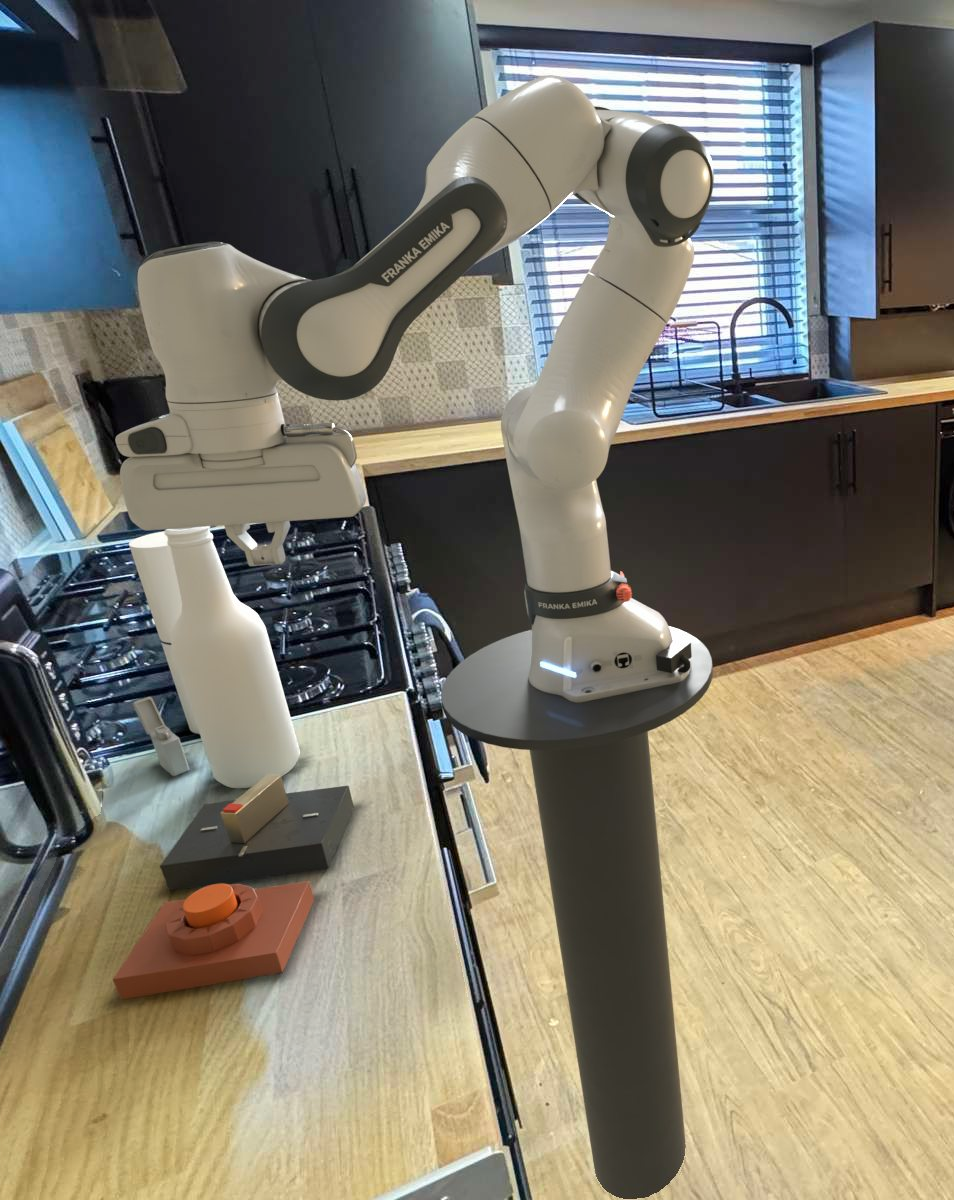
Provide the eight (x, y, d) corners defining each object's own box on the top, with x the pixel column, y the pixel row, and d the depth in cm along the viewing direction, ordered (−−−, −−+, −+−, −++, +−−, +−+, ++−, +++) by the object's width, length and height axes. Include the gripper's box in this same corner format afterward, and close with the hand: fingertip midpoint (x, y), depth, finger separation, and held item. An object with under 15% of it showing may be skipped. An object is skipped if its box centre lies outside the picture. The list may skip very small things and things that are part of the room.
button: (244, 896, 74) (239, 880, 74) (228, 925, 71) (222, 908, 70) (198, 902, 74) (193, 886, 73) (180, 932, 70) (174, 916, 70)
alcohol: (215, 800, 94) (130, 544, 82) (215, 763, 101) (137, 522, 89) (304, 774, 98) (236, 529, 87) (299, 741, 105) (235, 509, 94)
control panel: (355, 806, 92) (349, 782, 91) (327, 870, 83) (320, 844, 82) (213, 825, 90) (205, 800, 88) (167, 893, 80) (157, 866, 79)
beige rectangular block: (274, 802, 88) (266, 772, 87) (289, 803, 88) (280, 773, 86) (229, 842, 82) (219, 810, 81) (245, 843, 82) (234, 811, 81)
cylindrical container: (188, 739, 106) (125, 551, 96) (190, 715, 111) (131, 535, 102) (254, 723, 109) (200, 540, 100) (253, 701, 115) (202, 525, 105)
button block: (314, 899, 79) (304, 865, 77) (282, 972, 71) (270, 936, 69) (171, 921, 77) (157, 886, 75) (120, 999, 68) (104, 962, 67)
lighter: (190, 769, 99) (170, 710, 96) (173, 776, 98) (152, 716, 95) (167, 750, 103) (147, 693, 100) (150, 756, 102) (130, 698, 99)
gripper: (357, 416, 85) (384, 545, 90) (129, 426, 81) (170, 561, 86) (340, 427, 80) (370, 565, 85) (93, 439, 75) (140, 583, 81)
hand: (268, 563), depth 86 cm, fingers closed
